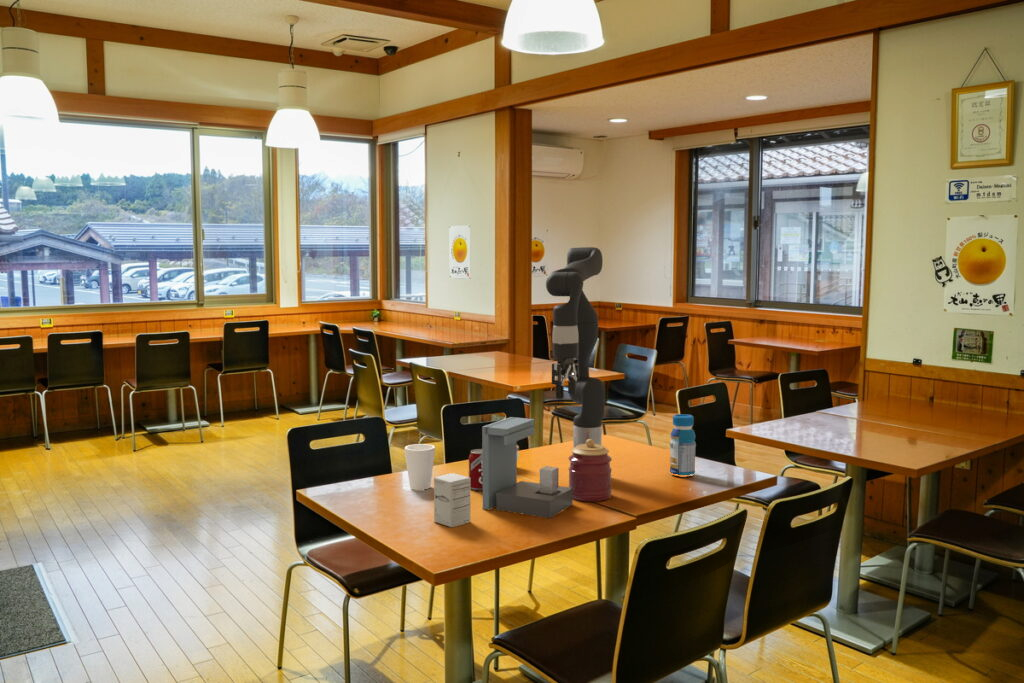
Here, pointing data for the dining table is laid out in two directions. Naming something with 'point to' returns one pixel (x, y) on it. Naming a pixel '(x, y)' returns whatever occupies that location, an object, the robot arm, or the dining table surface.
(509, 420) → the coffee dispenser stand
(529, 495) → the socket
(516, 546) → the dining table surface
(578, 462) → the canister
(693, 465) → the beverage bottle
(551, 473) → the peg
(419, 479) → the foam cup
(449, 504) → the supplement box
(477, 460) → the soda can
